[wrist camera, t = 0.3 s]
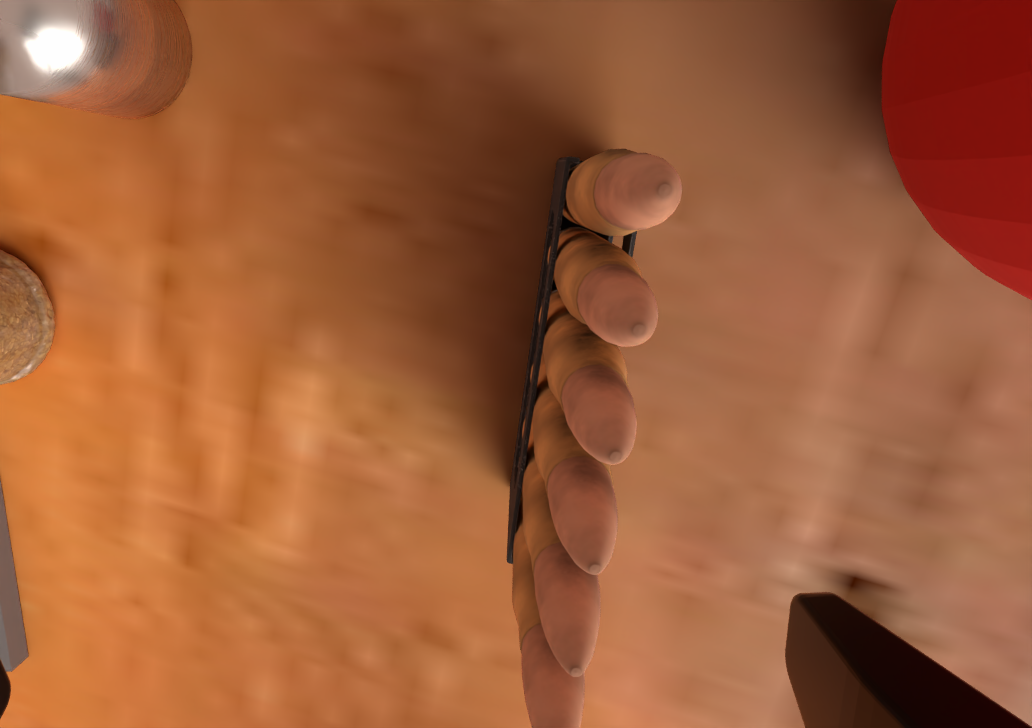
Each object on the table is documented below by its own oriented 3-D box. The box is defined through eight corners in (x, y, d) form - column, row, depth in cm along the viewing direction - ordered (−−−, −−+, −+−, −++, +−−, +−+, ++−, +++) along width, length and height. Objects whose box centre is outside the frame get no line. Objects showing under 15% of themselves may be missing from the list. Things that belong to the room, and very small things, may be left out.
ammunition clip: (564, 496, 22) (607, 823, 11) (509, 489, 22) (492, 809, 11) (619, 166, 20) (756, 120, 8) (557, 157, 20) (604, 98, 8)
